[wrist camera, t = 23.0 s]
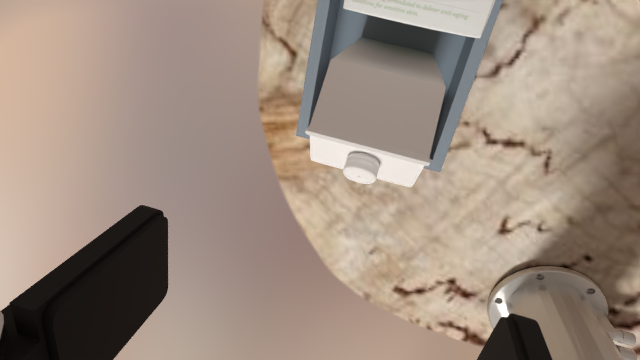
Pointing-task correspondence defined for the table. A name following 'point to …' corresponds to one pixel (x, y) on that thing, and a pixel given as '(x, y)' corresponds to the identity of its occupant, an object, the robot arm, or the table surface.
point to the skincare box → (430, 13)
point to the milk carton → (377, 112)
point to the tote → (448, 49)
